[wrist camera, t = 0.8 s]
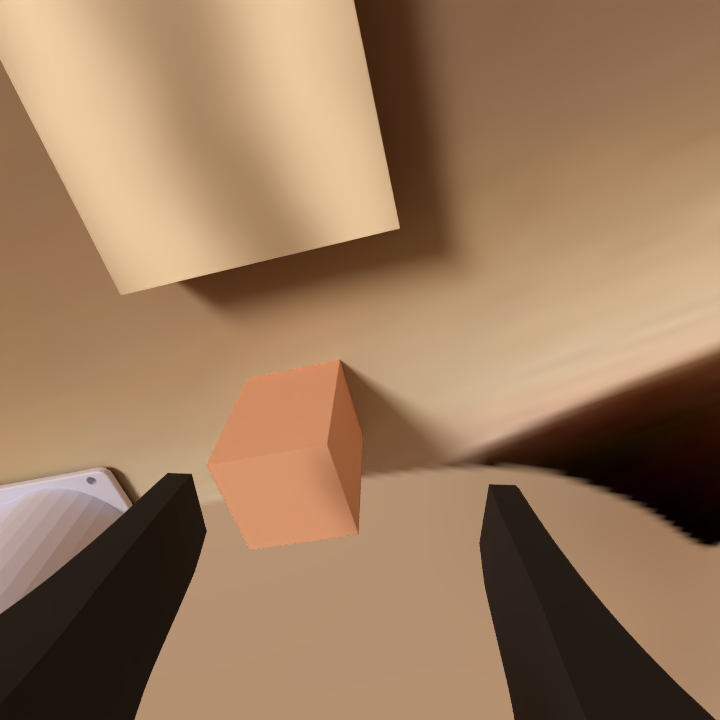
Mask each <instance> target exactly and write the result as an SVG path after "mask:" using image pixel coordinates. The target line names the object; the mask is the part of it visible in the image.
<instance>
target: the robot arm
mask: <svg viewBox="0 0 720 720" xmlns="http://www.w3.org/2000/svg"><path fill="white" fill-rule="evenodd" d="M94 478H95V479H94ZM206 532H207V531H206V527H205V524H204V519H203V516H202V512H201V508H200V504H199V500H198V496H197V493H196V489H195V485H194V481H193V477H192V474H177V473H167V474H166V475H165V476H164V477H163V478H162V479H161V480H160V481H158V482H157V483H156V484H155V485H154V486H153V487H152V488H151V489H150V490H149V491H147V492H146V493H145V494H144V495H143V496H142V497H141V498H140V499H139V500H138V501H137V502H136V503H134V504H132V503H131V501H130V500H129V498H128V497H127V495H126V494H125V492H124V490H123V489H122V487H121V486H120V484H119V483H118V481H117V480H116V478H115V476H114V475H113V473H112V472H111V471H110V470H108V469H107V468H94V469H88V470H83V471H77V472H72V473H66V474H61V475H55V476H50V477H44V478H39V479H33V480H28V481H23V482H17V483H12V484H6V485H1V486H0V720H134V719H135V716H136V713H137V710H138V707H139V704H140V701H141V698H142V695H143V692H144V689H145V687H146V684H147V682H148V679H149V677H150V674H151V672H152V669H153V667H154V664H155V662H156V660H157V658H158V655H159V653H160V650H161V648H162V646H163V644H164V642H165V639H166V637H167V634H168V632H169V630H170V628H171V626H172V623H173V621H174V619H175V616H176V614H177V612H178V610H179V607H180V605H181V603H182V600H183V598H184V595H185V593H186V591H187V589H188V586H189V584H190V582H191V579H192V577H193V574H194V572H195V568H196V566H197V562H198V559H199V556H200V553H201V549H202V546H203V542H204V539H205V535H206ZM480 552H481V560H482V569H483V576H484V584H485V589H486V594H487V598H488V603H489V607H490V611H491V616H492V620H493V624H494V629H495V633H496V637H497V641H498V645H499V650H500V654H501V658H502V662H503V667H504V671H505V675H506V679H507V684H508V688H509V693H510V698H511V703H512V708H513V713H514V719H515V720H715V719H714V718H713V717H712V716H711V715H710V714H709V713H708V712H707V711H706V710H705V709H703V707H702V706H701V705H699V704H698V703H697V702H696V701H695V700H694V699H693V698H692V697H691V696H690V695H689V694H688V693H687V692H686V691H684V689H682V688H681V687H680V686H679V685H678V684H677V683H676V682H675V681H674V680H673V679H672V678H671V677H670V676H669V675H668V674H667V673H666V672H665V671H664V670H663V669H662V668H661V667H660V666H659V665H658V664H657V663H656V662H655V661H654V660H653V658H651V656H650V655H649V654H648V653H646V651H645V650H644V649H643V648H642V647H641V646H640V645H639V644H638V643H637V642H636V640H635V639H634V638H633V637H632V636H631V635H630V634H629V633H628V632H627V631H626V630H625V629H624V627H623V626H622V625H621V624H620V623H619V622H618V621H617V619H616V618H615V617H614V616H613V615H612V614H611V613H610V611H609V610H608V609H607V608H606V607H605V606H604V604H603V603H602V602H601V601H600V600H599V598H598V597H597V596H596V595H595V593H594V592H593V591H592V590H591V589H590V587H589V586H588V585H587V584H586V582H585V581H584V580H583V579H582V578H581V576H580V575H579V574H578V572H577V571H576V570H575V568H574V567H573V566H572V564H571V563H570V562H569V560H568V559H567V558H566V557H565V555H564V554H563V552H562V551H561V550H560V548H559V547H558V546H557V544H556V543H555V542H554V540H553V539H552V537H551V536H550V535H549V533H548V532H547V530H546V529H545V527H544V526H543V524H542V523H541V522H540V520H539V519H538V517H537V516H536V514H535V513H534V511H533V510H532V508H531V507H530V505H529V504H528V502H527V500H526V499H525V497H524V496H523V494H522V493H521V491H520V489H519V488H518V487H517V486H516V485H491V484H490V485H489V488H488V494H487V501H486V507H485V513H484V519H483V525H482V531H481V537H480Z"/></svg>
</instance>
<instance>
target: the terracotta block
mask: <svg viewBox="0 0 720 720" xmlns="http://www.w3.org/2000/svg"><path fill="white" fill-rule="evenodd" d="M362 446H363V435H362V432H361V428H360V425H359V422H358V418H357V415H356V412H355V409H354V405H353V402H352V399H351V395H350V392H349V389H348V385H347V382H346V379H345V376H344V372H343V369H342V366H341V362H340V360H336V361H331V362H326V363H321V364H316V365H311V366H306V367H301V368H296V369H291V370H286V371H281V372H277V373H272V374H267V375H262V376H257V377H252V378H248V379H247V381H246V383H245V385H244V387H243V389H242V392H241V394H240V396H239V398H238V400H237V402H236V404H235V406H234V408H233V410H232V413H231V415H230V417H229V419H228V421H227V423H226V425H225V427H224V429H223V432H222V434H221V436H220V438H219V440H218V442H217V444H216V446H215V448H214V451H213V453H212V455H211V457H210V459H209V461H208V463H207V465H206V466H207V468H208V470H209V472H210V474H211V476H212V478H213V480H214V482H215V484H216V485H217V487H218V489H219V491H220V493H221V495H222V497H223V499H224V501H225V503H226V505H227V507H228V509H229V511H230V513H231V515H232V516H233V518H234V520H235V522H236V524H237V526H238V528H239V530H240V532H241V534H242V536H243V538H244V540H245V542H246V543H247V546H248V547H249V549H250V550H254V549H260V548H267V547H274V546H281V545H288V544H295V543H302V542H308V541H315V540H322V539H329V538H336V537H343V536H350V535H357V534H359V512H360V489H361V468H362Z"/></svg>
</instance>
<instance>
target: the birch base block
mask: <svg viewBox="0 0 720 720" xmlns="http://www.w3.org/2000/svg"><path fill="white" fill-rule="evenodd" d="M0 60H1V62H2V64H3V66H4V68H5V70H6V72H7V74H8V76H9V77H10V79H11V81H12V83H13V85H14V87H15V89H16V91H17V93H18V95H19V97H20V99H21V101H22V103H23V105H24V107H25V109H26V111H27V113H28V115H29V117H30V119H31V121H32V122H33V124H34V126H35V128H36V130H37V132H38V134H39V136H40V138H41V140H42V142H43V144H44V146H45V148H46V150H47V152H48V154H49V156H50V158H51V160H52V162H53V164H54V165H55V167H56V169H57V171H58V173H59V175H60V177H61V179H62V181H63V183H64V185H65V187H66V189H67V191H68V193H69V195H70V197H71V199H72V201H73V203H74V205H75V207H76V208H77V210H78V212H79V214H80V216H81V218H82V220H83V222H84V224H85V226H86V228H87V230H88V232H89V234H90V236H91V238H92V240H93V242H94V244H95V246H96V248H97V250H98V251H99V253H100V255H101V257H102V259H103V261H104V263H105V265H106V267H107V269H108V271H109V273H110V275H111V277H112V279H113V281H114V283H115V285H116V287H117V289H118V291H119V293H120V295H123V294H128V293H132V292H136V291H140V290H144V289H149V288H153V287H157V286H161V285H165V284H169V283H174V282H178V281H182V280H186V279H190V278H195V277H199V276H203V275H207V274H211V273H216V272H220V271H224V270H228V269H232V268H236V267H241V266H245V265H249V264H253V263H257V262H262V261H266V260H270V259H274V258H278V257H283V256H287V255H291V254H295V253H299V252H303V251H308V250H312V249H316V248H320V247H324V246H329V245H333V244H337V243H341V242H345V241H349V240H354V239H358V238H362V237H366V236H370V235H375V234H379V233H383V232H387V231H391V230H396V229H400V226H399V221H398V215H397V210H396V205H395V200H394V195H393V190H392V185H391V180H390V175H389V170H388V165H387V160H386V156H385V151H384V146H383V141H382V136H381V131H380V126H379V121H378V116H377V111H376V106H375V101H374V96H373V91H372V87H371V82H370V77H369V72H368V67H367V62H366V57H365V52H364V47H363V42H362V37H361V32H360V27H359V22H358V18H357V13H356V8H355V3H354V0H0Z"/></svg>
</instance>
